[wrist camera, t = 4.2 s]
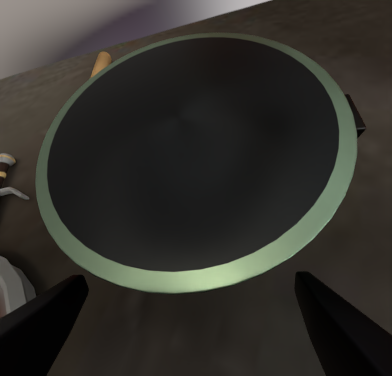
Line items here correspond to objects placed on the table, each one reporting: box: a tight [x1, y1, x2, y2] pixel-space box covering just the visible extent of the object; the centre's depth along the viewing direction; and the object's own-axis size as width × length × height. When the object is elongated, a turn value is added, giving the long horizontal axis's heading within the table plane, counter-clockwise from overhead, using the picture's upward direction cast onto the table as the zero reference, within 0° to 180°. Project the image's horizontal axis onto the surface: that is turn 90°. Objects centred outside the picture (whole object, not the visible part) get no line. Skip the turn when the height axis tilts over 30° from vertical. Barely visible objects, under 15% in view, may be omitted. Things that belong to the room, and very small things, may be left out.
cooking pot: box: [35, 33, 366, 295], centre depth 14 cm, size 16×18×9 cm
